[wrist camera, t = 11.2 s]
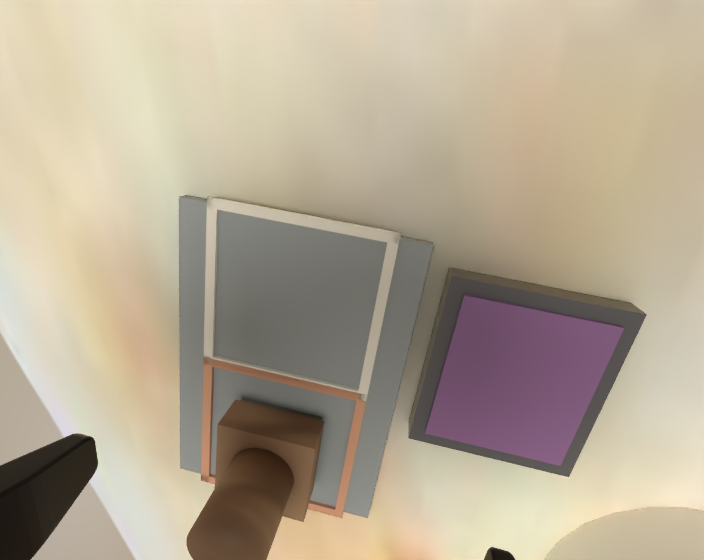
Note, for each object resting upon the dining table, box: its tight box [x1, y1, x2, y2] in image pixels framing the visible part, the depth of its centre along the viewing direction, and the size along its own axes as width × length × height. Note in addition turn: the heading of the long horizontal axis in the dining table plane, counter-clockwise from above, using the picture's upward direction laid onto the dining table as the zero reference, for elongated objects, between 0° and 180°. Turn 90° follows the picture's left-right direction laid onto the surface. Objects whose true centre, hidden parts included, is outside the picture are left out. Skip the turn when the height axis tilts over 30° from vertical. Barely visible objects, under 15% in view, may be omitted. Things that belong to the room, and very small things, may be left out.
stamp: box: [187, 398, 324, 560], centre depth 19 cm, size 5×5×6 cm
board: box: [179, 195, 433, 518], centre depth 20 cm, size 12×18×1 cm
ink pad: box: [409, 268, 647, 477], centre depth 18 cm, size 8×9×1 cm
